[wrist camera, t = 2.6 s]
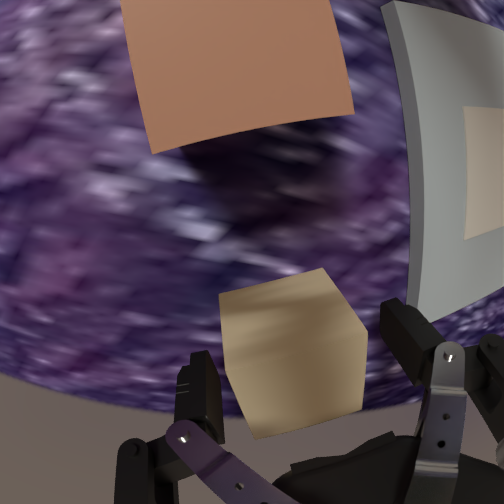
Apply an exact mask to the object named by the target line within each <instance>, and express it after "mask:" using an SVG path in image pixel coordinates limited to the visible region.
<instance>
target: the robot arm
mask: <svg viewBox="0 0 504 504" xmlns="http://www.w3.org/2000/svg"><path fill="white" fill-rule="evenodd" d="M380 333H381V336H382V338H383V340H384V342H385V343H386V345H387V346H388V347H389V349H390V350H391V352H392V353H393V355H394V356H395V358H396V359H397V361H398V362H399V364H400V365H401V367H402V368H403V370H404V371H405V373H406V375H407V376H408V378H409V379H410V381H411V382H412V384H413V385H414V387H416V386H418V385H421V384H423V385H424V387H425V389H424V394H423V399H422V405H421V409H420V414H419V418H418V423H417V427H416V430H415V433H414V436H406V435H405V436H404V435H403V436H395V435H394V433H393V431H390V432H388V433H385V434H383V435H381V436H378V437H376V438H373V439H370V440H368V441H367V442H365V443H364V444H362V445H360V446H359V447H357V448H356V449H354V450H352V451H351V452H349V453H347V454H345V455H341V456H330V457H316V458H313V459H309V460H305V461H302V462H298V463H293V464H291V465H290V466H291V471H289V472H287V473H285V474H283V475H282V476H281V477H279V478H278V479H276V480H275V481H274V482H273V483H272V484H271V483H269V482H268V481H267V480H265V479H264V478H263V477H261V476H260V475H259V474H257V473H256V472H255V471H253V470H252V469H251V468H250V467H248V466H247V465H246V464H244V463H243V462H242V461H241V460H239V459H238V458H237V457H236V456H235V455H233V454H232V453H230V452H227V451H225V450H224V449H223V448H222V447H221V446H219V445H220V444H225V437H224V423H223V409H222V394H221V382H220V377H219V374H218V371H217V369H216V367H215V365H214V363H213V360H212V358H211V356H210V354H209V352H208V350H204V351H200V352H195V353H191V355H190V365H188V366H182V368H181V370H180V372H179V374H178V375H177V387H176V399H175V413H174V423H173V424H172V425H171V426H170V427H169V428H168V430H167V432H166V434H165V435H164V436H162V437H160V438H157V439H155V440H152V441H149V442H147V443H145V442H144V441H143V440H141V439H138V438H133V439H129V440H127V441H125V442H124V443H123V444H122V445H121V446H120V448H119V450H118V455H117V466H116V478H115V493H114V504H179V495H178V481H179V480H181V479H184V478H187V477H189V476H192V475H194V474H196V475H197V476H198V477H199V478H200V479H201V480H202V481H203V482H204V483H205V484H206V485H207V486H208V487H209V488H210V489H211V490H212V491H213V492H214V493H215V494H217V496H219V498H221V499H222V500H223V501H224V502H225V503H226V504H504V339H503V338H502V337H500V336H498V335H496V334H487V335H484V336H483V337H482V338H481V339H480V342H479V345H475V346H470V347H464V348H463V347H462V346H461V345H459V344H458V343H455V342H447V341H446V340H445V339H444V338H443V337H442V336H441V334H440V333H439V332H438V331H437V330H436V329H435V328H434V326H433V325H432V324H431V323H430V322H429V321H428V320H427V319H426V318H425V317H424V315H423V314H422V313H421V312H420V311H419V310H418V309H417V308H415V307H413V306H411V305H409V304H408V305H405V306H404V305H403V303H402V302H401V301H400V300H399V299H398V298H393V299H390V300H387V301H384V302H382V303H381V305H380ZM467 393H468V394H469V396H470V397H471V399H472V400H473V402H474V404H475V405H476V407H477V409H478V410H479V412H480V414H481V415H482V417H483V418H484V420H485V422H486V424H487V425H488V427H489V429H490V431H491V432H492V434H493V436H494V438H495V439H496V441H497V443H498V445H497V448H496V457H497V458H496V462H497V463H498V466H497V465H495V464H492V463H488V462H485V461H482V460H479V459H476V458H473V457H470V456H467V455H464V454H462V453H460V449H461V443H462V436H463V429H464V421H465V412H466V399H467Z"/></svg>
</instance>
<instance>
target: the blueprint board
mask: <svg viewBox="0 0 504 504" xmlns="http://www.w3.org/2000/svg"><path fill="white" fill-rule="evenodd" d="M380 8H381V12H382V15H383V19H384V22H385V26H386V30H387V33H388V37H389V41H390V45H391V50H392V54H393V59H394V63H395V68H396V73H397V79H398V84H399V90H400V96H401V102H402V109H403V116H404V124H405V133H406V142H407V153H408V167H409V185H410V256H409V274H408V288H407V299H406V305H408V304H409V305H411V306H413V307H415V308H417V309H418V310H419V311H420V312H421V313H422V314H423V315H424V317H425V318H426V319H427V320H428V321H429V322H430V323H431V322H433V321H436V320H438V319H440V318H442V317H444V316H447V315H449V314H451V313H453V312H455V311H457V310H459V309H461V308H463V307H465V306H467V305H469V304H471V303H473V302H475V301H477V300H479V299H481V298H483V297H485V296H487V295H489V294H490V293H492V292H494V291H496V290H498V289H500V288H501V287H503V286H504V31H502V30H500V29H497V28H495V27H492V26H490V25H487V24H484V23H482V22H479V21H476V20H473V19H470V18H467V17H464V16H460V15H457V14H454V13H450V12H446V11H443V10H439V9H435V8H431V7H426V6H422V5H417V4H412V3H407V2H401V1H395V0H393V1H391V2H389V3H387V4H385V5H383V6H381V7H380Z"/></svg>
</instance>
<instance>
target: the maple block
mask: <svg viewBox="0 0 504 504" xmlns="http://www.w3.org/2000/svg"><path fill="white" fill-rule="evenodd" d="M219 304H220V316H221V329H222V340H223V352H224V362H225V372H226V374H227V376H228V379H229V381H230V384H231V386H232V389H233V391H234V393H235V396H236V398H237V400H238V403H239V405H240V407H241V410H242V412H243V414H244V417H245V419H246V421H247V423H248V425H249V428H250V430H251V432H252V435H253V436H254V439H255V440H256V439H261V438H266V437H270V436H274V435H278V434H283V433H287V432H291V431H295V430H298V429H302V428H306V427H309V426H313V425H316V424H320V423H323V422H326V421H329V420H332V419H335V418H338V417H341V416H344V415H347V414H350V413H353V412H356V411H358V410H361V409H362V402H363V393H364V382H365V371H366V357H367V340H368V331H367V330H366V328H365V327H364V325H363V324H362V322H361V321H360V320H359V318H358V317H357V315H356V314H355V312H354V311H353V310H352V308H351V307H350V305H349V304H348V302H347V301H346V300H345V298H344V297H343V295H342V294H341V293H340V291H339V290H338V288H337V287H336V286H335V284H334V283H333V281H332V280H331V279H330V277H329V276H328V275H327V273H326V272H325V270H324V269H323V268H320V269H316V270H313V271H309V272H305V273H301V274H297V275H294V276H290V277H286V278H282V279H278V280H274V281H270V282H266V283H262V284H258V285H254V286H250V287H246V288H242V289H238V290H234V291H229V292H225V293H221V294H219Z"/></svg>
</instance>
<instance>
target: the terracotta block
mask: <svg viewBox="0 0 504 504" xmlns="http://www.w3.org/2000/svg"><path fill="white" fill-rule="evenodd" d="M120 3H121V9H122V16H123V22H124V28H125V33H126V39H127V45H128V50H129V55H130V60H131V65H132V70H133V75H134V80H135V84H136V89H137V94H138V98H139V102H140V107H141V111H142V115H143V119H144V124H145V128H146V132H147V136H148V140H149V144H150V147H151V151H152V154H155V153H159V152H162V151H166V150H169V149H173V148H176V147H180V146H183V145H187V144H191V143H195V142H199V141H203V140H207V139H211V138H215V137H219V136H223V135H228V134H232V133H237V132H242V131H246V130H251V129H256V128H262V127H267V126H272V125H278V124H284V123H290V122H296V121H303V120H309V119H317V118H324V117H332V116H341V115H350V114H355V113H354V107H353V101H352V95H351V90H350V85H349V80H348V75H347V70H346V65H345V60H344V56H343V52H342V47H341V43H340V39H339V35H338V31H337V27H336V23H335V20H334V16H333V12H332V9H331V5H330V2H329V0H120Z"/></svg>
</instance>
